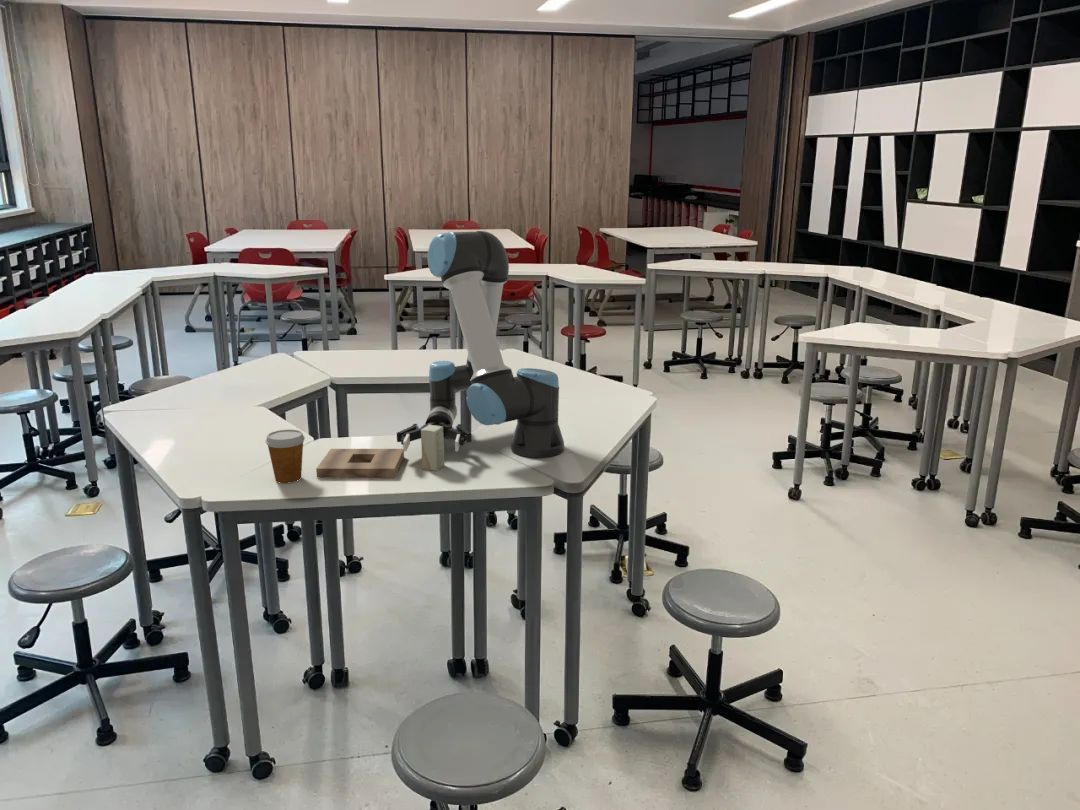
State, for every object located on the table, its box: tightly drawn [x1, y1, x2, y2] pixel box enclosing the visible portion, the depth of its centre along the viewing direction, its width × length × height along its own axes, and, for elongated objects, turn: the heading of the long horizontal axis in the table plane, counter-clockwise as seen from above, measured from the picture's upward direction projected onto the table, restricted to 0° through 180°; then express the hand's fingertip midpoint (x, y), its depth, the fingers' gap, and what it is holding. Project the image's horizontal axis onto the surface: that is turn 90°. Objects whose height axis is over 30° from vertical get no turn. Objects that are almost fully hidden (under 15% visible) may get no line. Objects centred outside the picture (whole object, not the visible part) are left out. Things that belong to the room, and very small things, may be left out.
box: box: [420, 425, 445, 472], centre depth 215 cm, size 5×4×11 cm
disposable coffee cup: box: [264, 428, 306, 484], centre depth 206 cm, size 10×10×12 cm
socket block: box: [316, 448, 405, 479], centre depth 216 cm, size 20×16×2 cm
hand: (430, 446), depth 213 cm, fingers open, 13 cm apart
